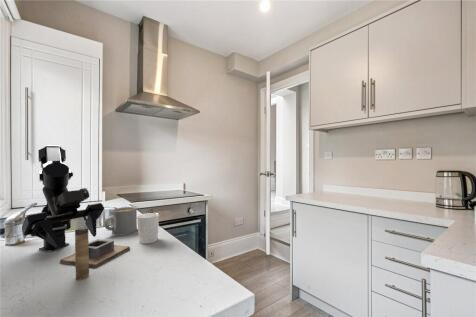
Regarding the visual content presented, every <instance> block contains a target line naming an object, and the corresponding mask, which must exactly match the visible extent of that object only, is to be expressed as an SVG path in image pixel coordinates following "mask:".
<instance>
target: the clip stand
mask: <svg viewBox="0 0 476 317" xmlns="http://www.w3.org/2000/svg"><path fill="white" fill-rule="evenodd" d="M129 250H131V246H130V245H121V244H115V241H114V240H109V239H100V238H99V239H95V240H93V241H89V268H94V269H96V268H98V267H100V266H102V265H104V264H105V263H107V262H109V261H112V259H114V258H116V257H119V256H120V255H122V254H124V253H125V252H128V251H129ZM59 264H65V265H66V264H67V265H73V266H76V265H75V252H74V253H72V254H70V255H67V256H64V257H63V258H60V259H59Z"/></svg>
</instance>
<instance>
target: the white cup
mask: <svg viewBox="0 0 476 317" xmlns="http://www.w3.org/2000/svg"><path fill="white" fill-rule="evenodd" d="M159 220H160V214H159V213H156V212H149V213H148V212H147V213H142V214H139V215H137V232H138V242H139V243H140V244H142V245H143V244H144V245H146V244H152V243H155V242H156V241H158V239H159V238H158V236H159Z"/></svg>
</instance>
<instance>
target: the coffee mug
mask: <svg viewBox="0 0 476 317" xmlns="http://www.w3.org/2000/svg"><path fill="white" fill-rule="evenodd" d="M137 216H138V214H137V207H135V206H124V207H117V208H114V209H111V215H110V216H107V217H106V218H105V219H104V223H103V225H104V228H105V229H106V231H111V234H112V235H113V234H115V235H114V236H125V234H126V235H130V234H133V233H135V232H138V219H137ZM110 221H111V225H110V226H109V224H110Z"/></svg>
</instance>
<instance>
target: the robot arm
mask: <svg viewBox="0 0 476 317" xmlns="http://www.w3.org/2000/svg"><path fill="white" fill-rule="evenodd" d="M66 159H67V155H66V149H63V148H62V146H61V145H55V144H54V145H53V144H47V145H44V146H43V147H42V148H40V149H38V163H40V168H42V169H41V170H39V173H38V174H39V179H38V180H39V182H42V185H43V188H42V190H41V192H42V193H43V196H44V198H45V200H46V205H45V206H44V207H43V208H42V210H41V212H36V213H29V214H27V215H26V217H25V219H24V220H23V223H22V226H21V232H22V234H23V235H24V236H31V237H37V238H39V239H41V240H43V246H42V247H39V248H38V250H39V251H45V252H46V251H47V252H54V251H56V250H59V249H61V248H64V247H65V248H66V247H67V246H69V245H70V243H68V242H66V231H69V229H71V226H72V225H71V221H72V220H76V219H80V218H83V220H84V221H85V222H84V223H85V226H86V228H88V232H89V233H90V234H91V236H93V238H95V237H96V236H97V221H98V219H99V218H100V217H101V215H102V213H103V212H104V210H105V206H104V204H103V203H102V202H96V203H95V202H94V203H90V204H87V206H86V207H85V209H83V210H78V209H80V208H81V203H82V202H84V201H85V200H87V199H89V198H90V193H89V190H88V188H86V187H84V188H83V187H82V188H80V189H77V190H76V189H75V190H68V185H69V181H70V180H71V179H72V177H74V172H72V171H71V169H70V167H69V166H68V165H67V163H64V162H66Z"/></svg>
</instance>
